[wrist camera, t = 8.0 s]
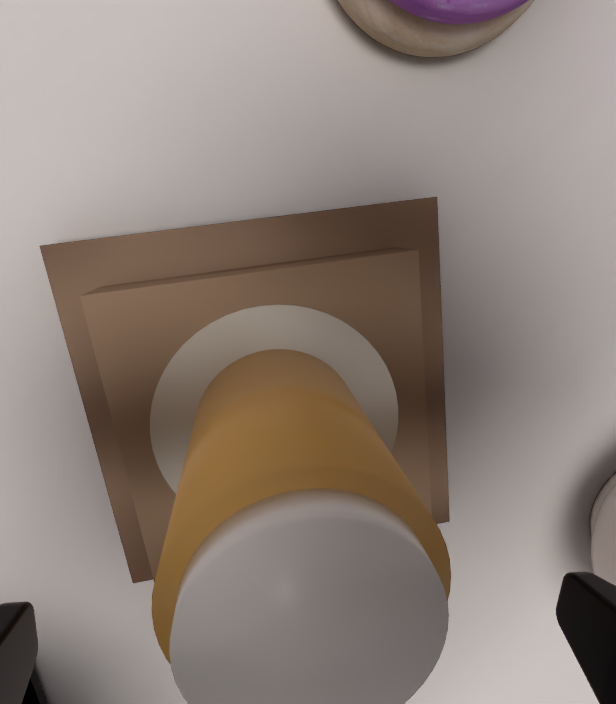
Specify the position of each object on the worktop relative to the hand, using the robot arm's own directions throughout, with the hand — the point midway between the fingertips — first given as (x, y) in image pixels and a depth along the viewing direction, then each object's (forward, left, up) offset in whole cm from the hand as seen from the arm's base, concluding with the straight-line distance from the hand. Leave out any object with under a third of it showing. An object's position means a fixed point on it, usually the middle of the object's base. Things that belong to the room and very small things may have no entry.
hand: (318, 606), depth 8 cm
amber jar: (0, 0, -7) cm, 7 cm away
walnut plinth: (0, 0, -11) cm, 11 cm away
